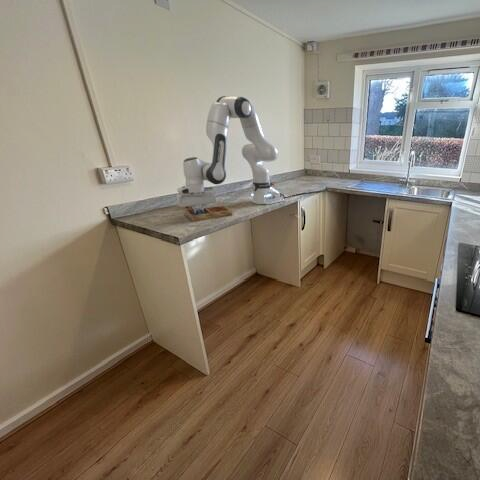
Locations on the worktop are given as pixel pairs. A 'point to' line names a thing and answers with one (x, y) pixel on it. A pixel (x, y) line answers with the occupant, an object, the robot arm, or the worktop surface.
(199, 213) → the blue spoon
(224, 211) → the cutlery tray
